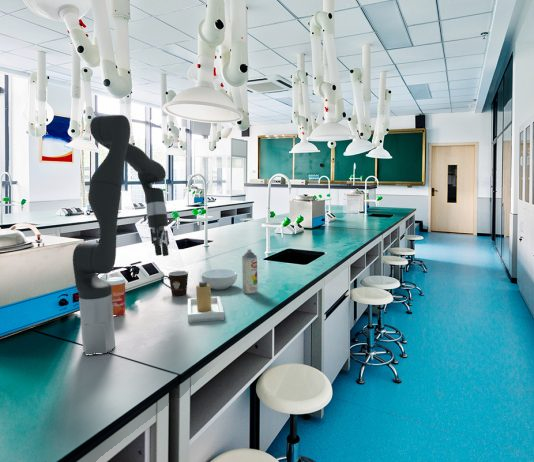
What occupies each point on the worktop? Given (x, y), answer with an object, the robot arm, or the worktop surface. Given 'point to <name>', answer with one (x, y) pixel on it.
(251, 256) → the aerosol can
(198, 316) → the lab tray
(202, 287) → the amber bottle
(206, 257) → the worktop surface
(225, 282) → the cereal bowl
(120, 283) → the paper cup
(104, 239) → the robot arm
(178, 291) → the coffee mug
